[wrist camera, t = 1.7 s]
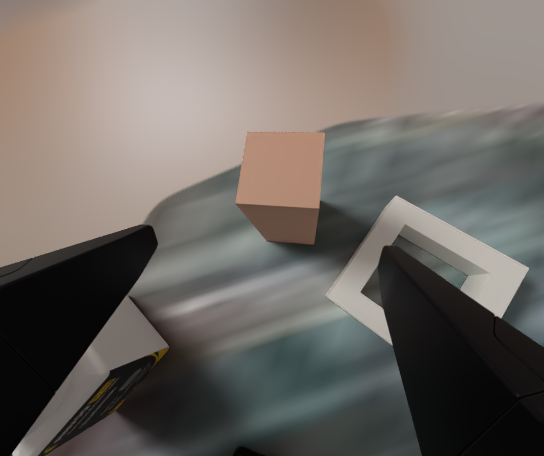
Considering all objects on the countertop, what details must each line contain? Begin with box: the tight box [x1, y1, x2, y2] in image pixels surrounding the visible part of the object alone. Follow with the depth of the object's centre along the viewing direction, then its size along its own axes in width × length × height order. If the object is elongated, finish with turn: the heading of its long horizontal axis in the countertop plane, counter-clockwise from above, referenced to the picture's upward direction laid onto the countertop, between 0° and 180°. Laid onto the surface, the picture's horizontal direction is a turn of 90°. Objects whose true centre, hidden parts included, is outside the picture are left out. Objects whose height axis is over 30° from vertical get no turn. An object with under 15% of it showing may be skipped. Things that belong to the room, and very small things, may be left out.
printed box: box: [12, 295, 169, 456], centre depth 16 cm, size 7×7×12 cm
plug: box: [236, 132, 325, 245], centre depth 18 cm, size 5×4×10 cm
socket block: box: [325, 196, 529, 346], centre depth 18 cm, size 10×10×2 cm
